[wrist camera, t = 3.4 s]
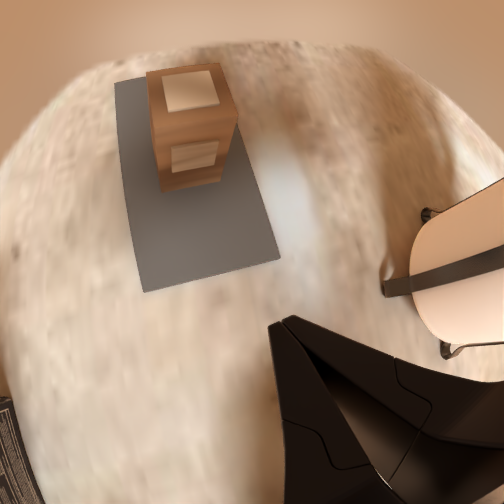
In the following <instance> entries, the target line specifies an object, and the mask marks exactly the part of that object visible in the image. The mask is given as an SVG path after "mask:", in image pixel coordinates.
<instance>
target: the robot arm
mask: <svg viewBox="0 0 504 504" xmlns="http://www.w3.org/2000/svg"><path fill="white" fill-rule="evenodd" d="M268 335H269V342H270V349H271V356H272V362H273V369H274V376H275V383H276V390H277V397H278V404H279V411H280V418H281V426H282V433H283V443H284V494H283V504H504V381H499V382H479V381H474V380H470V379H465V378H461V377H457V376H453V375H449V374H445V373H441V372H437V371H434V370H430V369H427V368H423V367H420V366H417V365H415V364H412V363H409V362H406V361H404V360H401V359H399V358H394V357H393V356H391V355H388V354H386V353H383V352H381V351H378V350H376V349H374V348H371V347H369V346H366V345H364V344H361V343H359V342H357V341H354V340H352V339H349V338H347V337H345V336H342V335H340V334H337V333H335V332H333V331H330V330H328V329H326V328H323V327H321V326H319V325H316V324H314V323H312V322H310V321H307V320H305V319H303V318H300V317H298V316H296V315H291V316H289V317H287V318H285V319H283V320H282V321H281V322H280V321H278V322H276V323H274V324H271V325H269V326H268ZM371 464H372V465H371ZM373 466H374V467H373ZM375 469H376V470H377V471H378V473H379V474H380V475H381V476H382V477H383V479H384V480H385V481H386V482H387V483H388V485H389V486H390V487H391V488H392V489H391V488H390V487H389V486H388V485H387V484H386V483H385V482H384V481H383V480H382V478H381V477H380V476H379V474H378V473H377V471H376V470H375Z"/></svg>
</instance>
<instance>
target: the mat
mask: <svg viewBox="0 0 504 504" xmlns="http://www.w3.org/2000/svg"><path fill="white" fill-rule="evenodd" d="M114 85H115V105H116V120H117V133H118V143H119V153H120V162H121V171H122V178H123V186H124V193H125V200H126V206H127V213H128V219H129V224H130V230H131V236H132V241H133V246H134V251H135V256H136V261H137V266H138V271H139V275H140V280H141V284H142V289H143V292H144V293H145V292H149V291H153V290H157V289H162V288H166V287H170V286H174V285H178V284H182V283H186V282H190V281H194V280H198V279H202V278H206V277H210V276H214V275H218V274H222V273H226V272H230V271H234V270H238V269H242V268H246V267H250V266H253V265H257V264H261V263H265V262H269V261H273V260H277V259H279V258H281V257H280V254H279V251H278V247H277V244H276V241H275V238H274V235H273V232H272V229H271V225H270V222H269V219H268V216H267V213H266V210H265V207H264V204H263V201H262V198H261V195H260V192H259V188H258V185H257V182H256V179H255V176H254V173H253V170H252V167H251V164H250V161H249V158H248V155H247V153H246V150H245V147H244V144H243V141H242V138H241V135H240V132H239V129H238V126H237V123H236V125H235V128H234V132H233V136H232V139H231V143H230V146H229V150H228V154H227V157H226V161H225V165H224V168H223V172H222V176H221V180H220V181H219V182H214V183H208V184H203V185H198V186H193V187H188V188H183V189H178V190H174V191H169V192H164V193H161V188H160V183H159V178H158V173H157V167H156V162H155V156H154V151H153V145H152V136H151V127H150V116H149V105H148V93H147V79H146V77H142V78H136V79H131V80H127V81H122V82H117V83H114Z"/></svg>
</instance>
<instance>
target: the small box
mask: <svg viewBox="0 0 504 504" xmlns="http://www.w3.org/2000/svg"><path fill="white" fill-rule="evenodd" d="M0 504H45V503H44V501H43V498H42V496H41V493H40V491H39V489H38V486H37V483H36V481H35V478H34V476H33V473H32V470H31V467H30V464H29V462H28V459H27V456H26V452H25V449H24V446H23V443H22V439H21V436H20V432H19V428H18V424H17V421H16V417H15V412H14V408H13V404H12V400H11V399H10V398H8V397H0Z"/></svg>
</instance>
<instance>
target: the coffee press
mask: <svg viewBox="0 0 504 504" xmlns="http://www.w3.org/2000/svg"><path fill="white" fill-rule="evenodd" d="M431 211H434V212H437V213H441V214H439V215H437V216H436V217H434V218H432V219H431V217H430V214H431ZM421 218H422V221H423V222H424V223H425V225H424V226H423V227H422V228H421V230H420V231H419V233H418V234H417V236H416V239H415V241H414V244H413V247H412V251H411V256H410V268H409V274H410V276H408V277H404V278H399V279H394V280H389V281H385V282H383V284H384V291H385V298H389V297H395V296H401V295H406V294H412V296H413V300H414V303H415V306H416V308H417V311H418V313H419V315H420V317H421V319H422V321H423V322H424V324H425V325H426V327H427V328H428V329H429V330H430V331H431V332H432V333H433V334H434V335H435V336H436V337H438V338H439V339H441V340H442V341H445V342H444V343H443V345H442V347H441V356H442V358H443V359H445V360H448V359H450V358H453V357H455V356H457V355H458V354H459V353H460V352H461V351H462V350H463V349H464V348H465V347H472V346H486V345H499V344H504V178H502V179H500V180H498V181H497V182H495V183H493V184H491V185H490V186H488V187H486V188H484V189H483V190H481V191H479V192H477V193H475V194H474V195H472V196H470V197H468V198H466V199H465V200H463V201H461V202H459V203H457V204H455V205H454V206H452V207H450V208H448V209H446V210H444V211H441V210H439V209H436V208H427V207H426V208H424V209H423V210H422V212H421ZM451 343H452V344H466V345H464V346H461V347H459V348H457V349H456V350H455V351H454V352H453V353H452V354H451V352H450V345H451Z"/></svg>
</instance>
